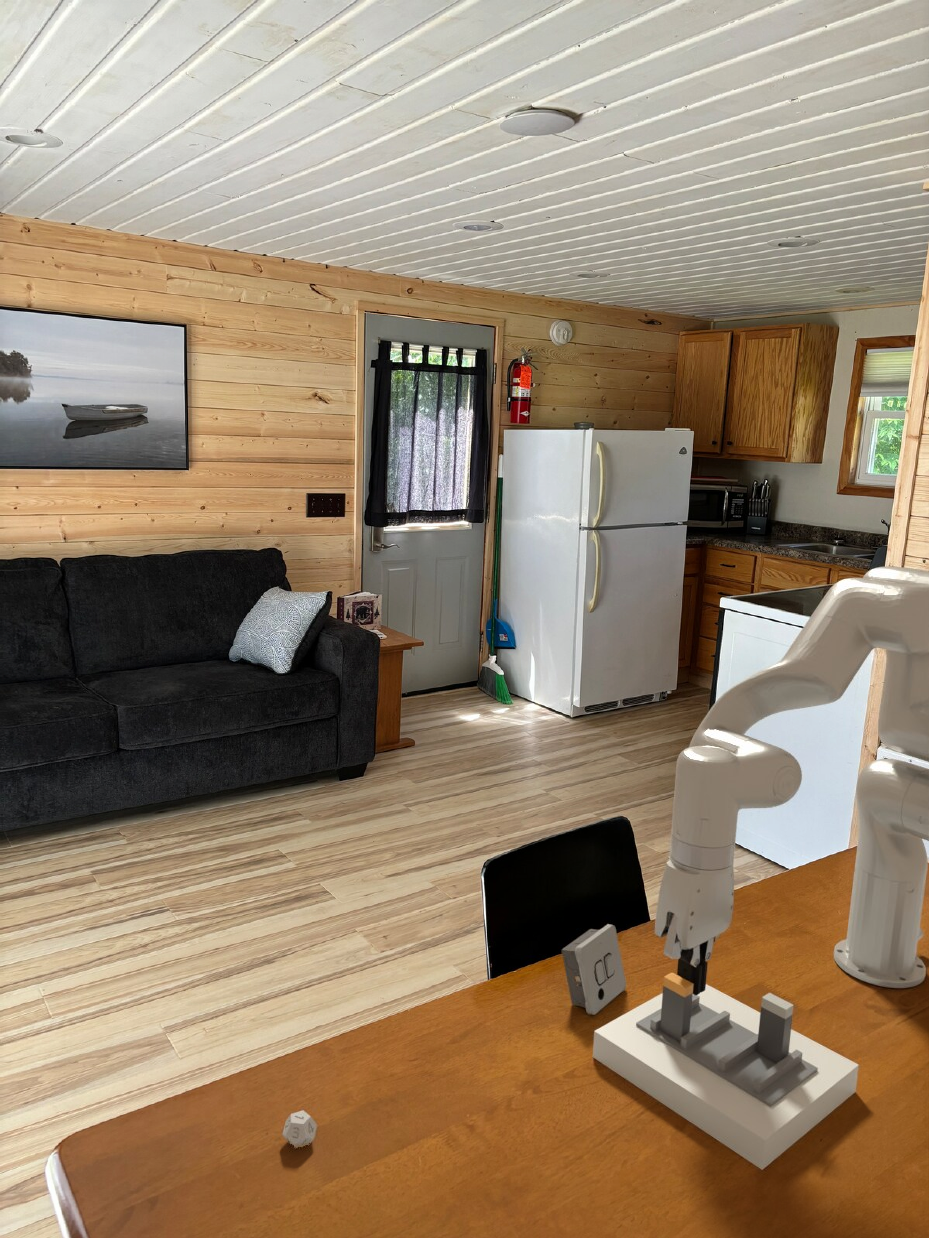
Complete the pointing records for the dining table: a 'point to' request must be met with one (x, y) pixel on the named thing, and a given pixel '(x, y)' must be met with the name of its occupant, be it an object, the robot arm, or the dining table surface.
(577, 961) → the electrical switch
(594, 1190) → the dining table surface
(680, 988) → the toggle
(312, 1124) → the game die
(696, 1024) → the lever base
